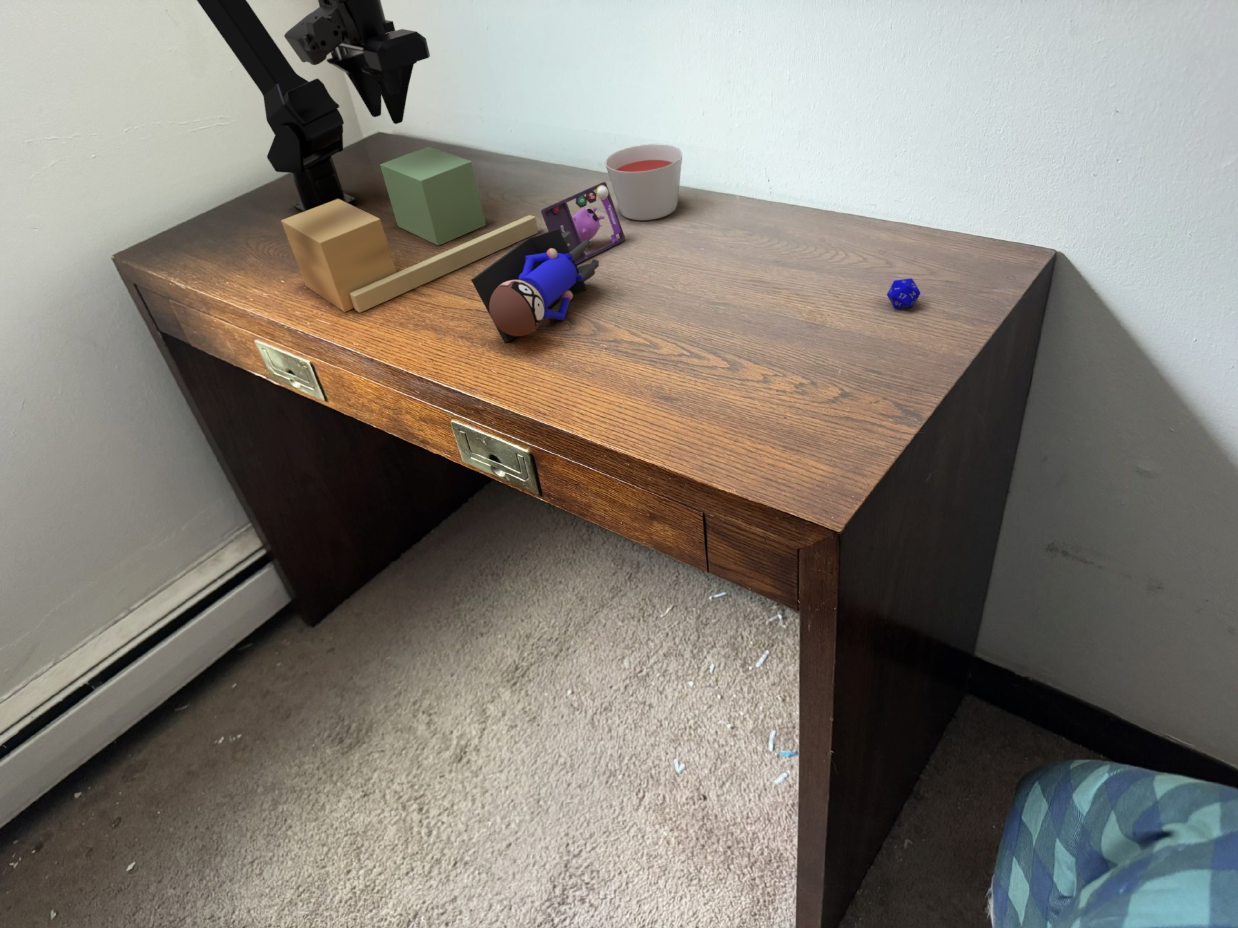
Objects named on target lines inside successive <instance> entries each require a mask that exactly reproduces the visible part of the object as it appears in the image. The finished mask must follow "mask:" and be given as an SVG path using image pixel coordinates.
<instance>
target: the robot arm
mask: <svg viewBox="0 0 1238 928" xmlns="http://www.w3.org/2000/svg"><path fill="white" fill-rule="evenodd" d="M196 1H197V3H198V4H199V6H200V7H201V9H202V10H203V12H204V13H205V14H206V16H207V18H209V20H210V22H211V23H212V24H213V26H214V27H215V29H216V30H217V31H218V33H219V34H220V35H221V37H222V38H223V40H224V42H225V43H226V44H227V45H228V47H229V49H230V50H231V51H232V53H234V55H235V57H236V58H237V60H238V61H239V63H240V64H241V66H242V67H243V68H244V70H245V71H246V73H247V74H248V76H249V77H250V78H251V80H252V81H253V82H254V84H255V86H256V87H257V89H258V90H259V91H260V93H261V95H262V96H263V104H264V111H265V112H264V113H265V118H266V119H265V120H266V122H267V124H268V125H269V127H270V129H271V130H272V132H273V134H274V136H273V140H272V142H271V145H270V148H269V150H268V152H267V155H266V159H267V160H268V161H269V163H270V165H271V166H272V168H273V170H274V171H275V172H276V173H289V174H290V175H291V176H292V180H293V182H294V185H295V188H296V190H297V193H298V196H299V200H300V201H299V202H296V203H293V207H294V209H296V210H297V211H299V212H300V213H302V212H305V211H307V210H310V209H313V208H315V207H318V206H320V205H323V204H326V203H328V202H331V201H334V200H336V199H340V200H342V201H344V202H346V203H348V204H350V205H352V204H355V203H356V198H355V197H353V196H351V195H350V194H347V193H344V190H343V186H342V184H341V181H340V178H339V174H338V172H337V171H338V170H337V168H336V165H335V162H334V159H333V157H332V156H334V155H336V154H338V153H340V152H342V151H344V134H343V133H344V124H345V121H344V119H343V116H342V114H341V112H340V110H339V108H340V104H338V103H337V102H336V101H335V100H334V98H332V96H331V94H330V93H329V91H328V89H327V88H326V85H325V84H324V83H323V81H321V79H320V78H314V79H312V80H310V81H308V79H306V78H304V77H302V76H301V75H299V74H298V73H297V72H296V71H295V70H294V68H293V66H292V65H291V63H290V62H289V61H288V59H287V58H286V57H285V55H284V54H283V52H282V51H281V49H280V48H279V46H278V45H277V43H276V42H275V40H274V39H273V38H272V37H273V36H271V34H270V33H269V31H268V30H267V29H266V26H265V25H264V24H263V23H262V21H261V20H260V18H259V17H258V15H257V14H256V12H255V11H254V10H253V8H252V6H251V5H250V4H249V1H247V0H196ZM317 2H318V6H319V7H317V8H316V9H315V10H313V11H312V12H310V13H308V14H307V15H306V16H304V17H303V18H302V19H301V20H300V21H298V22H297V23H295V25H293V26H292V27H291V28H290V29H288V30H287V31H286V32H285V34H284V35H283V37H284V38H285V40H286V41H287V43H288V45H289V46H290V47H291V48H292V50H293V51H294V53H295V54H296V55H297V57H298V58H299V60H300V61H301V62H302V63H309V64H311V65H312V66H318V65H320V64H321V63H322V62H324V61H325V60H326V62H327V63H328V64H329V65H332V66H333V67H336V68H337V69H339V70H340V71H343V72H344V73H345V74H346V75H347V77H348V78H349V80H350V81H351V84H352V85H353V86H354V88H355V90H356V92H357V93H358V95H359V96H360V98H361V100H362V102H363V103H364V105H365V107H366V109H367V110H368V112H369V113H370V116H372V117H373V118H377V117H380V116H381V115H382V100H383V102H384V105H385V107H386V110H387V113H388V115H389V117H390V120H391V121H392V123H393V124H394V125H398V124H401V123H402V122H404V121H403V120H404V115H405V109H406V103H407V97H408V92H409V87H410V82H411V79H412V78H411V77H412V74H413V70H414V65H415V64H417V63H418V62H420V61H423V60H426V59H427V60H428V59H429V58H430V57H431V53H430V50H429V49H430V48H429V46H428V41H427V38H426V37H425V36H423V35H422V34H421V33H419V32H418V31H415V30H411V29H405V28H400V29H396V28H395V23H394V21H393V20H389V19H386V16H385V13H384V12H385V11H384V8H383V4H382V1H381V0H317ZM329 54H330V55H331V57H329V58H327V56H329Z"/></svg>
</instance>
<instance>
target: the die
mask: <svg viewBox="0 0 1238 928" xmlns="http://www.w3.org/2000/svg"><path fill="white" fill-rule="evenodd" d="M920 295H921V291H920V288H919V287H918V286H917V284H916V282H915V281H914V279H913V278H912V277H911V278H903V279H895V280H893V282H892V283H891V285H890V288H889V289H888V291H887V293H886V297H887V298H888V300H889V301H890V303H891V305H892V307H893V309H895V310H901V309H909V308H913V307H914V306H915V304H916V302H917V300H918V299H919V297H920Z"/></svg>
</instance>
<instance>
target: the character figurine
mask: <svg viewBox="0 0 1238 928" xmlns="http://www.w3.org/2000/svg"><path fill="white" fill-rule="evenodd" d="M572 240H573V237H572V235H571V233H570V232H569V231H568V232H564V233H561V232H560V230H559V229H556V230H553V231H549V232H548V231H547V232H543V233H541V234H537V235H533V236H530V237H528V238H525V239H524V240H522V242H520V243H519V244H518V245H516V246H515V247H513V248H512V249H511V250H510V251H508V252H506V253H505V254H504V255H502V257H500V258H499V259H498V260H495V262H493V263H492V264H490V265H489V266H488V267H486V268H485V269H484V270H483V271H481V272H480V273H478V274H477V275H475V276H474V277H473V278H472V279H470V280H471V283H472V284H473V286H474V288H475V290H476V292H477V294H478V296H479V297H480V299H481V301H482V303H483V305H484V307H485V309H486V311H487V313H488V314H489V316H490V318H491V320H492V322H493V324H494V325H495V327H496V329H497V331H498V333H499V335H500V337H501V340H502V341H503V342H504V343H508V342H509V343H510V342H511V340H513V339H514V338H515V337H523V336H527V335H530V334H532V333H533V332H535V331H536V330H537V329H538V328H539V327H540V325H541V323H542V322H543V320H548V319H555V320H558V321H564V320H565V319H566V314H567V310H568V307H569V304H570V301H571V300H573V297H574V295H577V294H581V293H585V292H588V291H589V288H588V287H587V284H586V281H588V280H590V279H591V278H593V276H594V275H595V274H596V269H597V268H599V266H600V260H597V259H593V260H592V261H591V262H590V263H587V264H582V265H579V266H577V264H576V263H575V261H574V260H575V258H576V257H577V256H579V255H580V254H581V253H582V252H585V251H586V250H588V249H589V248H591V247H592V245H591V244H592V240H589V241H588V240H585V241H583V242H582V243H581V244H580V245H578V246H577V247H576V248H575V249H573V250H572V251H571V252H570V251H569V249H568V247H567V244H569V243H570V242H571V241H572ZM560 299H561V302H560V305H559V309H558V311H554V310H550V309H549V308H551V307H552V306H553V305H554V304H555V303H557V302H558V301H559V300H560Z"/></svg>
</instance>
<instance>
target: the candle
mask: <svg viewBox="0 0 1238 928" xmlns="http://www.w3.org/2000/svg"><path fill="white" fill-rule="evenodd" d="M682 163H683V151H682V150H681V149H680V148H679V147H677V146H674V145H670V144H666V143H665V144H664V143H646V144H638V145H633V146H628V147H625V148H622V149H619V150H617V151H615V152H613V153H611V154H610V155H608V156H607V158H606V159H605V161H604V165H605V169H606V172H607V174H608V177H609V181H610V185H611V187H612V191H613V194H614V197H615V200H616V203H617V206H618V210H619V212H620V214H621V216H623V217H624V218H626V219H629V220H633V221H651V220H657V219H661V218H664V217H667V216H668V215H671V214H673V212H675V210H676V209H677V207H678V203H679V195H680V186H681V185H680V183H681V174H682Z"/></svg>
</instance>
